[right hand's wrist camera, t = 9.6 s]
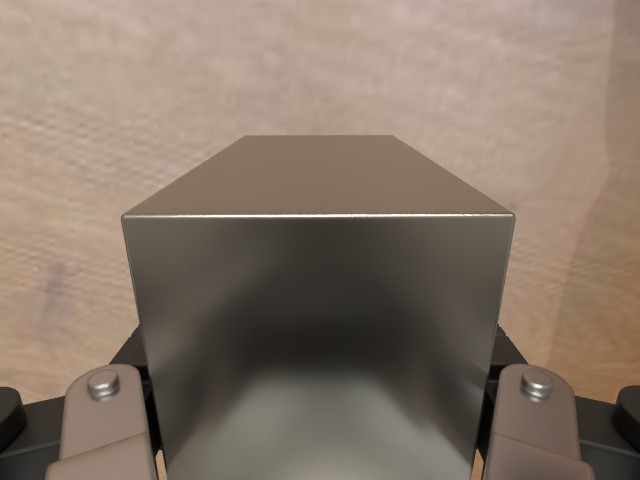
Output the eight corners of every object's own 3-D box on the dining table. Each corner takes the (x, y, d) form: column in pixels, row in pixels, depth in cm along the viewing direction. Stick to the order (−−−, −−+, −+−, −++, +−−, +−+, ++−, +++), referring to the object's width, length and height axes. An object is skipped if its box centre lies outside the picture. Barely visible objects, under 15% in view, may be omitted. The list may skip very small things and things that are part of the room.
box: (243, 135, 17) (118, 214, 6) (393, 135, 17) (518, 213, 6) (269, 532, 25) (233, 856, 15) (370, 532, 25) (407, 855, 15)
